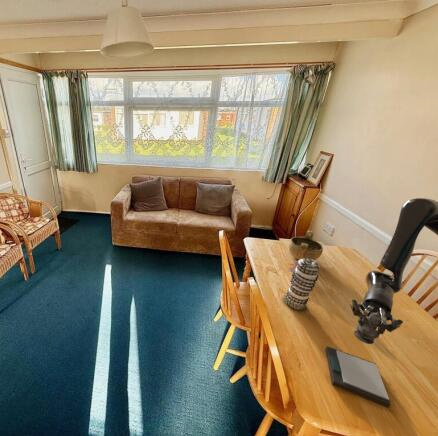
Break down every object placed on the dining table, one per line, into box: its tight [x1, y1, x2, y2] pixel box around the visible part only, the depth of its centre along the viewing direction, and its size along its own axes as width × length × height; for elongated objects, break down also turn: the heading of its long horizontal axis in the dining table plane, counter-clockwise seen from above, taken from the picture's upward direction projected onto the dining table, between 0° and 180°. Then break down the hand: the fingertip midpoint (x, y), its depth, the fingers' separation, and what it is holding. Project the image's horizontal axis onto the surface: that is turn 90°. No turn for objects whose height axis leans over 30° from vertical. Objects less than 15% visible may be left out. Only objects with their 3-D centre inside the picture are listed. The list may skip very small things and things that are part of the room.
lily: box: [287, 258, 298, 273], centre depth 125 cm, size 12×12×10 cm
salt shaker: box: [353, 313, 382, 345], centre depth 78 cm, size 6×6×12 cm
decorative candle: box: [284, 258, 321, 311], centre depth 102 cm, size 9×9×25 cm
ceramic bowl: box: [288, 230, 324, 261], centre depth 138 cm, size 22×17×15 cm
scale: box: [324, 346, 392, 409], centre depth 77 cm, size 14×14×4 cm
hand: (370, 328), depth 75 cm, fingers closed on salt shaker, 3 cm apart
